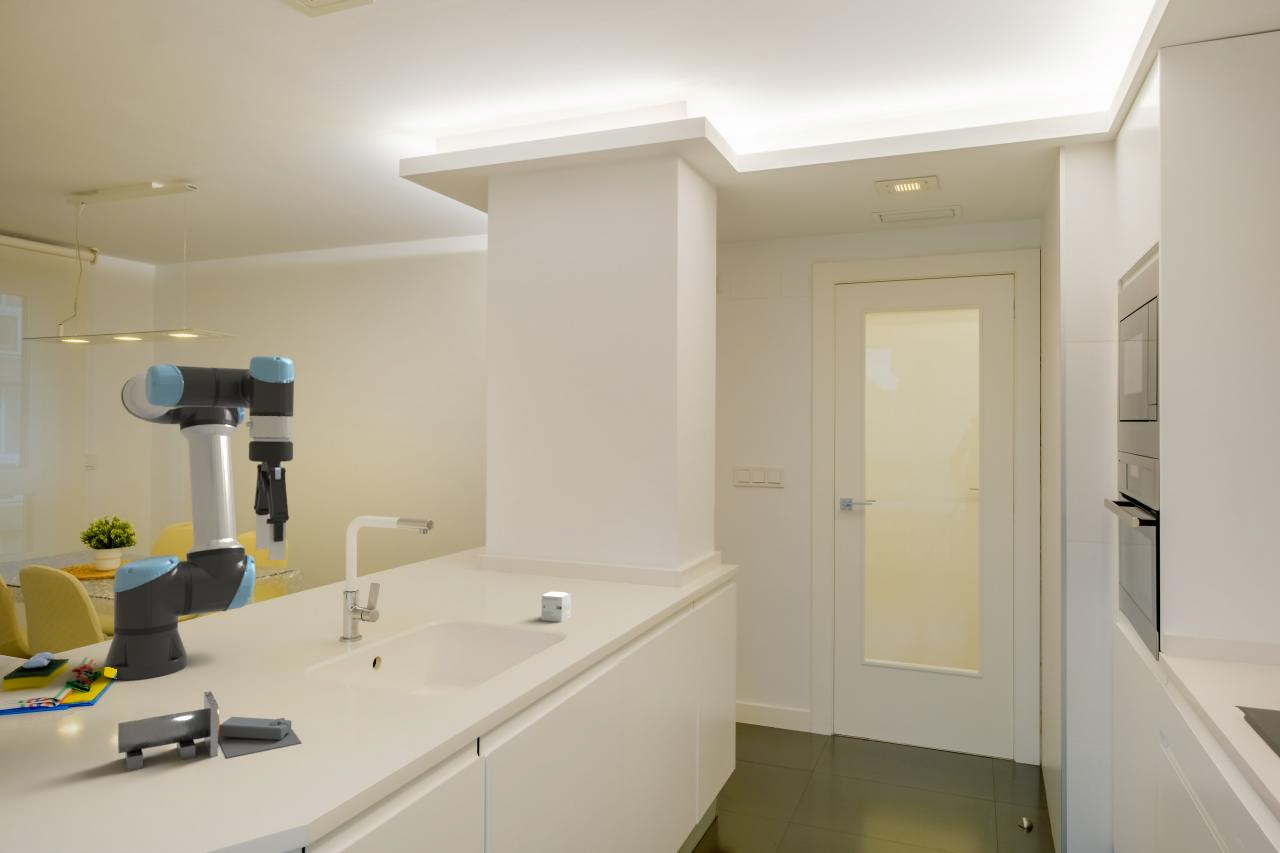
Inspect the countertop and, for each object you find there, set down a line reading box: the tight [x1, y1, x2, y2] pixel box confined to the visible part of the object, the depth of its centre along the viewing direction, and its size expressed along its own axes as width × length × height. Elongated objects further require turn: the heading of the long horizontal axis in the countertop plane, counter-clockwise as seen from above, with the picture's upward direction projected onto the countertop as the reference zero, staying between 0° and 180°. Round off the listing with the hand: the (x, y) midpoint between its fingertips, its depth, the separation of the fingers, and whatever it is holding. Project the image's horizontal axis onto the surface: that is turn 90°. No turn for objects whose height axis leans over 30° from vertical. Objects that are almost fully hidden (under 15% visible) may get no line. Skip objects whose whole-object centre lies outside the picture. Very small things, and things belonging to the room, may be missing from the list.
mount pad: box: [218, 717, 302, 759], centre depth 138 cm, size 14×11×1 cm
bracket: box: [219, 716, 292, 740], centre depth 138 cm, size 4×10×2 cm, turn 87°
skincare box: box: [540, 591, 572, 623], centre depth 223 cm, size 6×6×7 cm
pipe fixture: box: [117, 691, 220, 772], centre depth 130 cm, size 8×13×8 cm, turn 124°
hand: (270, 554), depth 155 cm, fingers open, 13 cm apart
